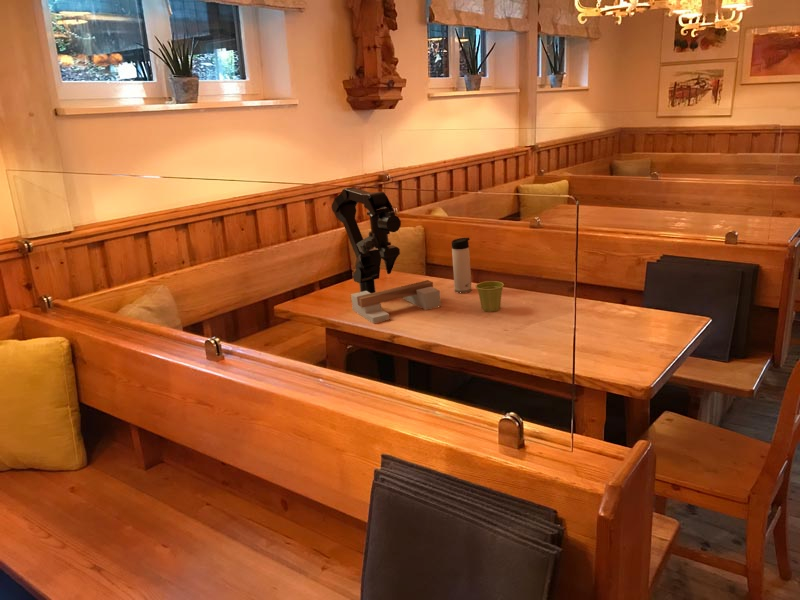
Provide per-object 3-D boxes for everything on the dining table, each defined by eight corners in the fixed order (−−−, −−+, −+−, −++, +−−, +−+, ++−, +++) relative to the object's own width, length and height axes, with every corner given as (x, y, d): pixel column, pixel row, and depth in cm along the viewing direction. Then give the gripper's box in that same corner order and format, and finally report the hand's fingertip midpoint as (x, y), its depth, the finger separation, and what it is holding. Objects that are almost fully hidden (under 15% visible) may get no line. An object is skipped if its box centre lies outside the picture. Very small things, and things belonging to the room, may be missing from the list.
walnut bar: (357, 304, 234) (356, 296, 233) (428, 288, 245) (427, 280, 244) (361, 307, 231) (360, 298, 230) (433, 290, 242) (432, 282, 241)
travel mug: (471, 293, 248) (468, 240, 242) (453, 293, 249) (450, 240, 243) (473, 288, 254) (470, 236, 248) (455, 288, 255) (452, 236, 249)
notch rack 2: (402, 298, 250) (401, 282, 248) (416, 294, 252) (415, 279, 250) (425, 310, 234) (424, 293, 232) (440, 306, 237) (439, 290, 235)
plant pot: (471, 311, 229) (469, 286, 226) (487, 303, 236) (486, 279, 233) (494, 315, 223) (493, 290, 220) (510, 307, 229) (509, 283, 227)
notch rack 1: (352, 310, 242) (350, 294, 240) (368, 306, 244) (366, 290, 242) (373, 323, 226) (371, 306, 224) (389, 319, 229) (387, 302, 227)
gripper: (347, 228, 243) (352, 270, 247) (369, 236, 226) (373, 281, 231) (375, 223, 247) (380, 264, 252) (398, 230, 231) (402, 274, 236)
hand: (383, 271), depth 242 cm, fingers open, 9 cm apart
